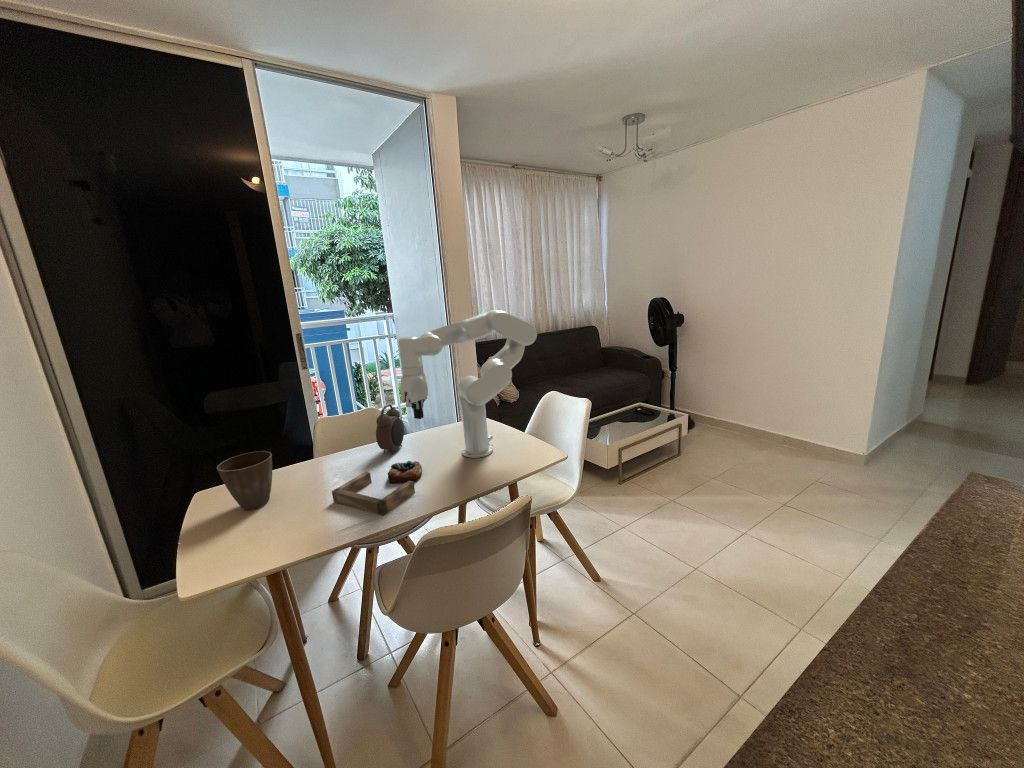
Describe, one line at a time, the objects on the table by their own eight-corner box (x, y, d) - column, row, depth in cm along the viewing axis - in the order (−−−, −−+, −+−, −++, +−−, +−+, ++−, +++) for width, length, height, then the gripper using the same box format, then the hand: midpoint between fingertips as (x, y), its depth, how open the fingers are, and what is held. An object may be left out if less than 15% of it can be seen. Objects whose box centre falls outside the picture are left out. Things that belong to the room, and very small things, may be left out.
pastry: (392, 471, 147) (390, 457, 145) (424, 468, 147) (422, 454, 146) (386, 486, 136) (383, 470, 135) (420, 482, 137) (418, 467, 135)
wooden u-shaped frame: (367, 481, 140) (365, 471, 139) (415, 492, 130) (413, 481, 129) (333, 502, 127) (331, 491, 126) (383, 515, 117) (381, 504, 116)
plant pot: (236, 499, 134) (225, 456, 130) (285, 488, 139) (275, 447, 135) (222, 522, 120) (209, 475, 116) (277, 509, 125) (265, 464, 121)
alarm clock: (394, 457, 159) (387, 411, 154) (377, 457, 160) (370, 411, 155) (408, 443, 173) (402, 400, 168) (393, 443, 174) (387, 400, 169)
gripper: (418, 366, 150) (424, 411, 155) (390, 374, 137) (397, 423, 142) (433, 366, 147) (439, 412, 151) (406, 375, 134) (413, 425, 138)
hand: (419, 417), depth 146 cm, fingers closed
